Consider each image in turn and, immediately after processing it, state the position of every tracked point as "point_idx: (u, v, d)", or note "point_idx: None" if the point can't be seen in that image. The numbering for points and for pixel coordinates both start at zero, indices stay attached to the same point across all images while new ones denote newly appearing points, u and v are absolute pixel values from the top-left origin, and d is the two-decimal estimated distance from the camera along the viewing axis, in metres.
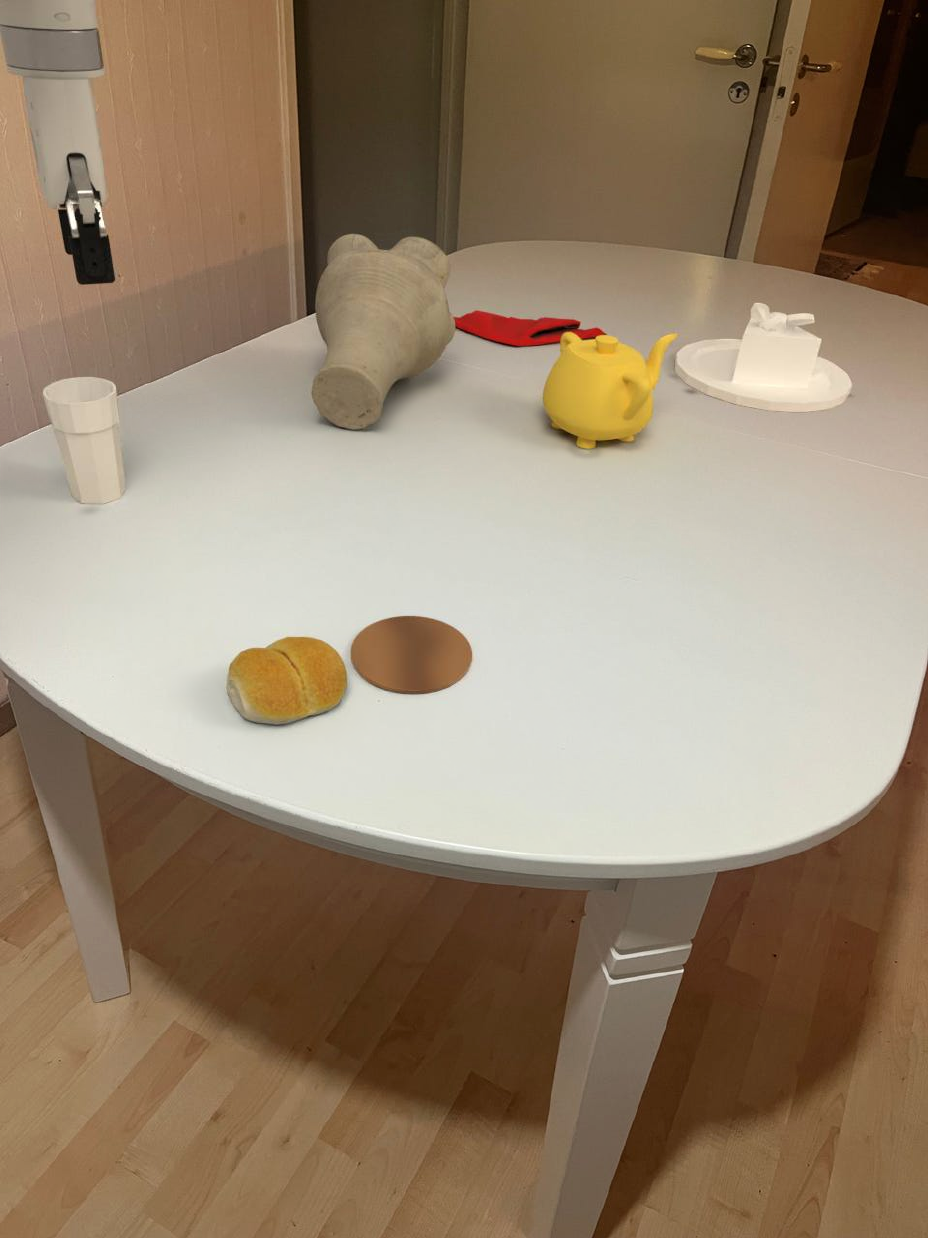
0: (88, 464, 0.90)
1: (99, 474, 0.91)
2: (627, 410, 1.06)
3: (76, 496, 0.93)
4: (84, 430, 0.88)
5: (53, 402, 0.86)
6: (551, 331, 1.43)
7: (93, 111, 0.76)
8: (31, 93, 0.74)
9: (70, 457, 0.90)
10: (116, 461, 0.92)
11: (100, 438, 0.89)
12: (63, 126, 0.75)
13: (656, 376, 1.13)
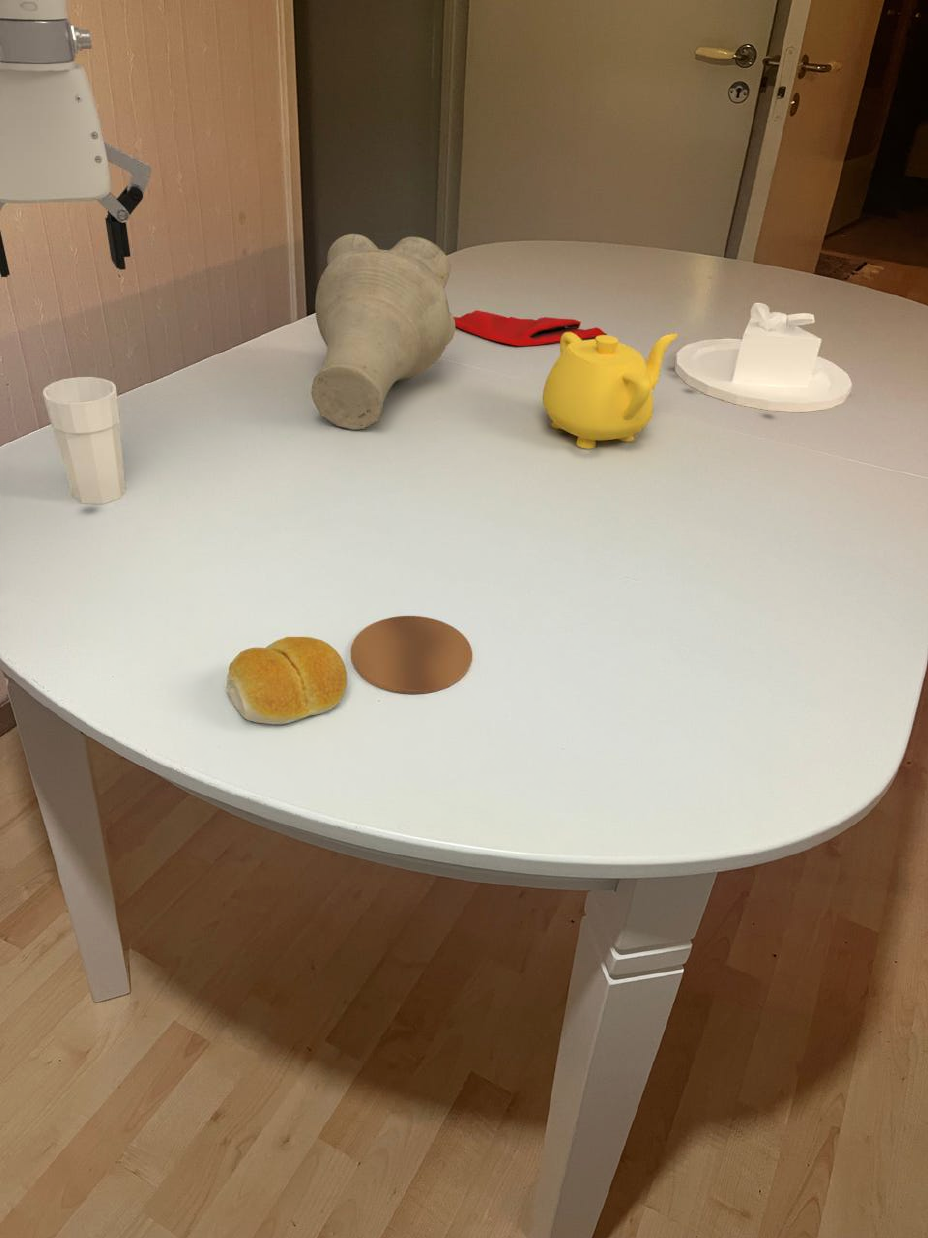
0: (88, 464, 0.90)
1: (99, 474, 0.91)
2: (627, 410, 1.06)
3: (76, 496, 0.93)
4: (84, 430, 0.88)
5: (53, 402, 0.86)
6: (551, 331, 1.43)
7: None
8: None
9: (70, 457, 0.90)
10: (116, 461, 0.92)
11: (100, 438, 0.89)
12: None
13: (656, 376, 1.13)
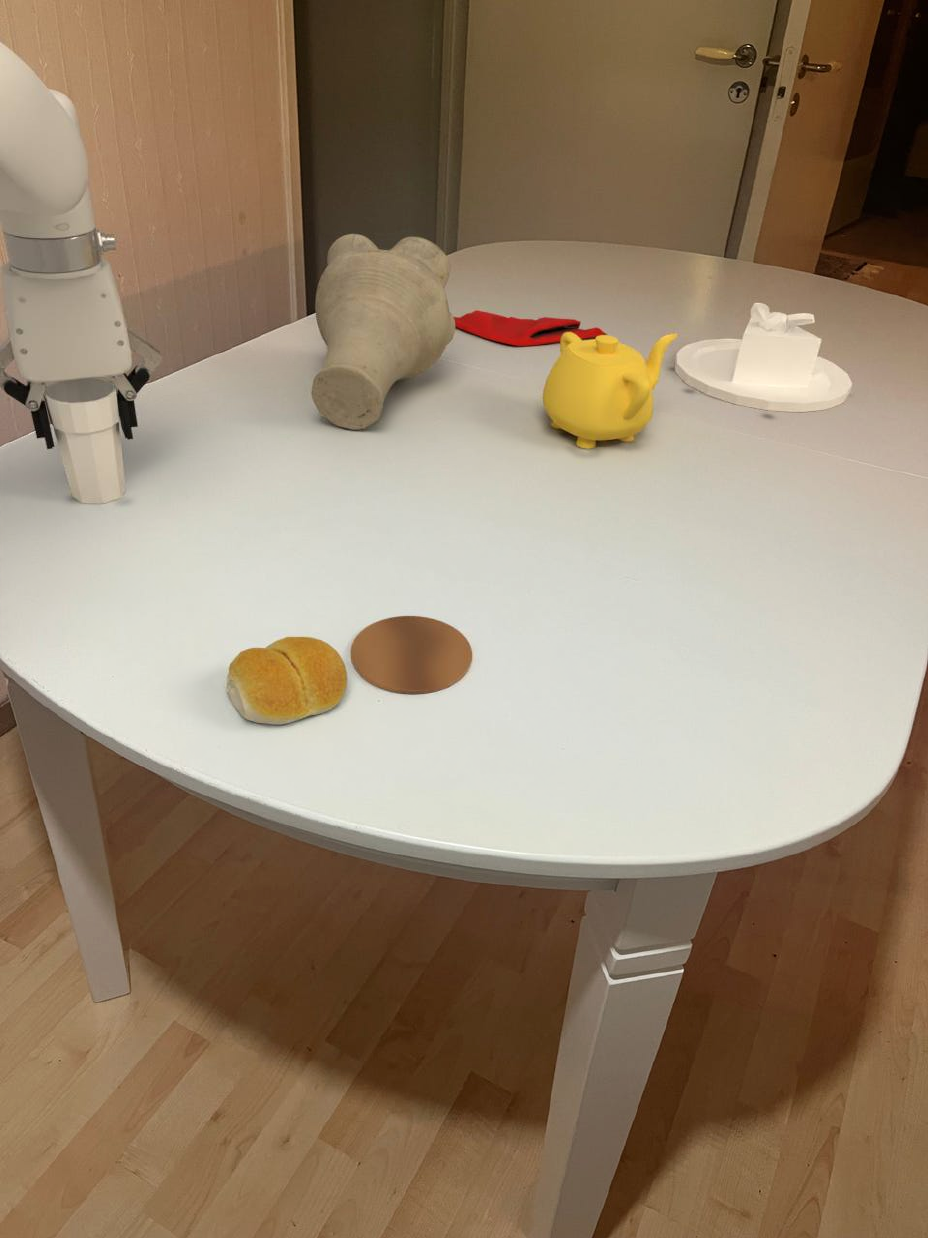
0: (88, 464, 0.90)
1: (99, 474, 0.91)
2: (627, 410, 1.06)
3: (76, 496, 0.93)
4: (84, 430, 0.88)
5: (53, 402, 0.86)
6: (551, 331, 1.43)
7: (13, 303, 0.80)
8: None
9: (70, 457, 0.90)
10: (116, 461, 0.92)
11: (100, 438, 0.89)
12: (4, 306, 0.82)
13: (656, 376, 1.13)
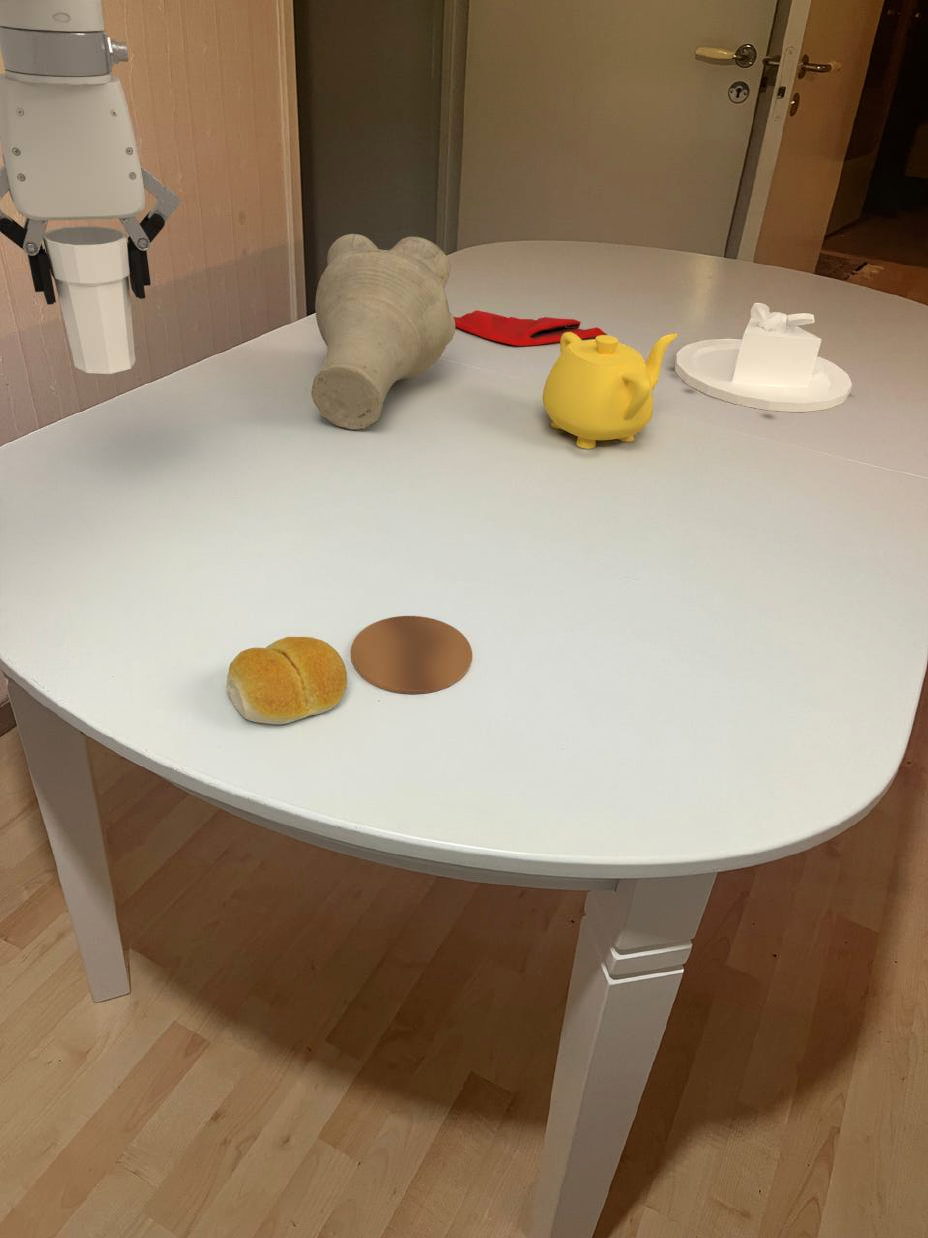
0: (94, 323, 0.79)
1: (107, 336, 0.80)
2: (627, 410, 1.06)
3: (80, 365, 0.82)
4: (90, 280, 0.76)
5: (54, 244, 0.75)
6: (551, 331, 1.43)
7: (9, 115, 0.69)
8: None
9: (73, 315, 0.78)
10: (126, 323, 0.81)
11: (108, 292, 0.78)
12: None
13: (656, 376, 1.13)
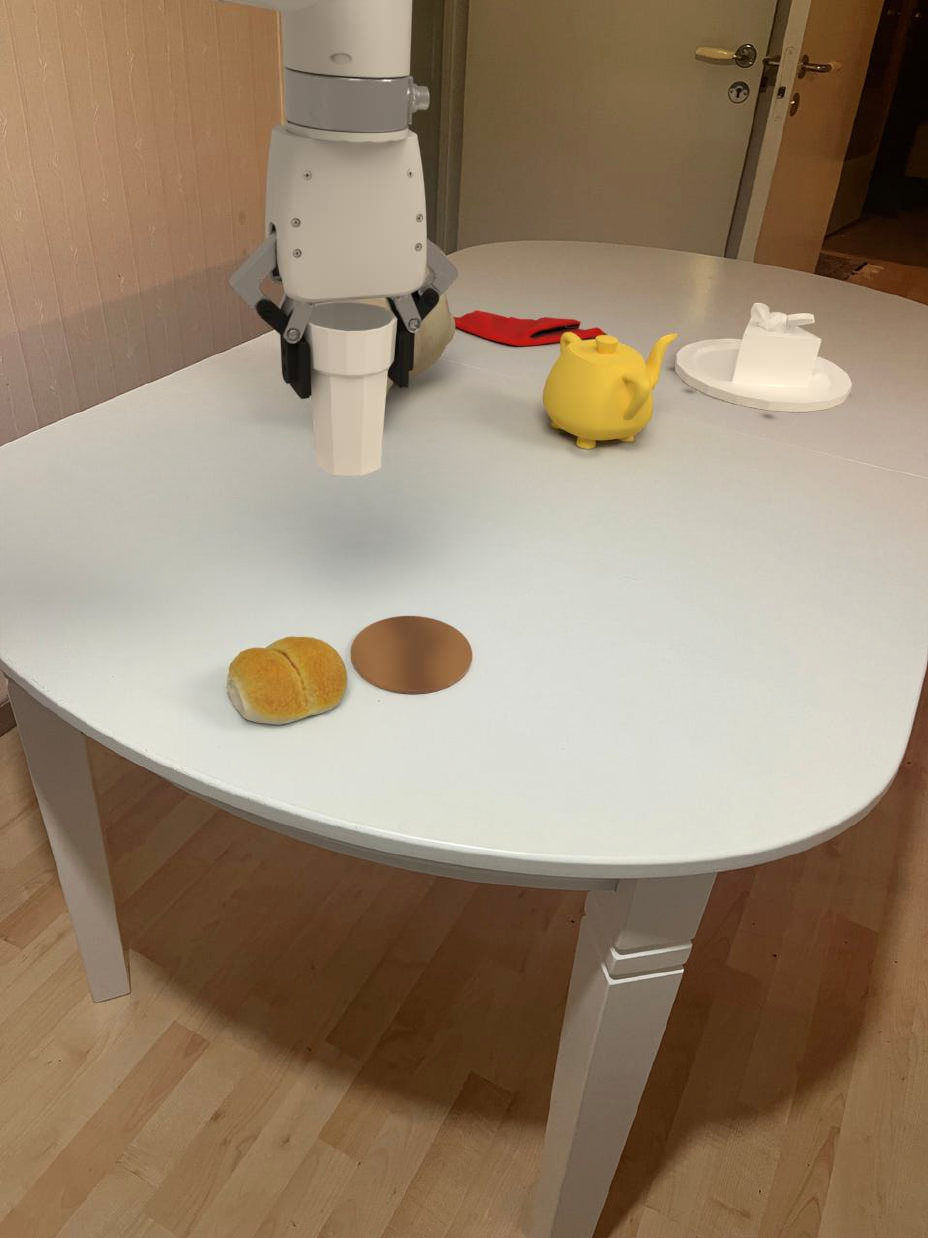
0: (353, 420, 0.66)
1: (364, 434, 0.66)
2: (627, 410, 1.06)
3: (324, 466, 0.68)
4: (358, 371, 0.63)
5: (321, 330, 0.61)
6: (551, 331, 1.43)
7: (294, 179, 0.55)
8: None
9: (329, 410, 0.65)
10: (383, 417, 0.67)
11: (373, 383, 0.65)
12: (270, 188, 0.58)
13: (656, 376, 1.13)
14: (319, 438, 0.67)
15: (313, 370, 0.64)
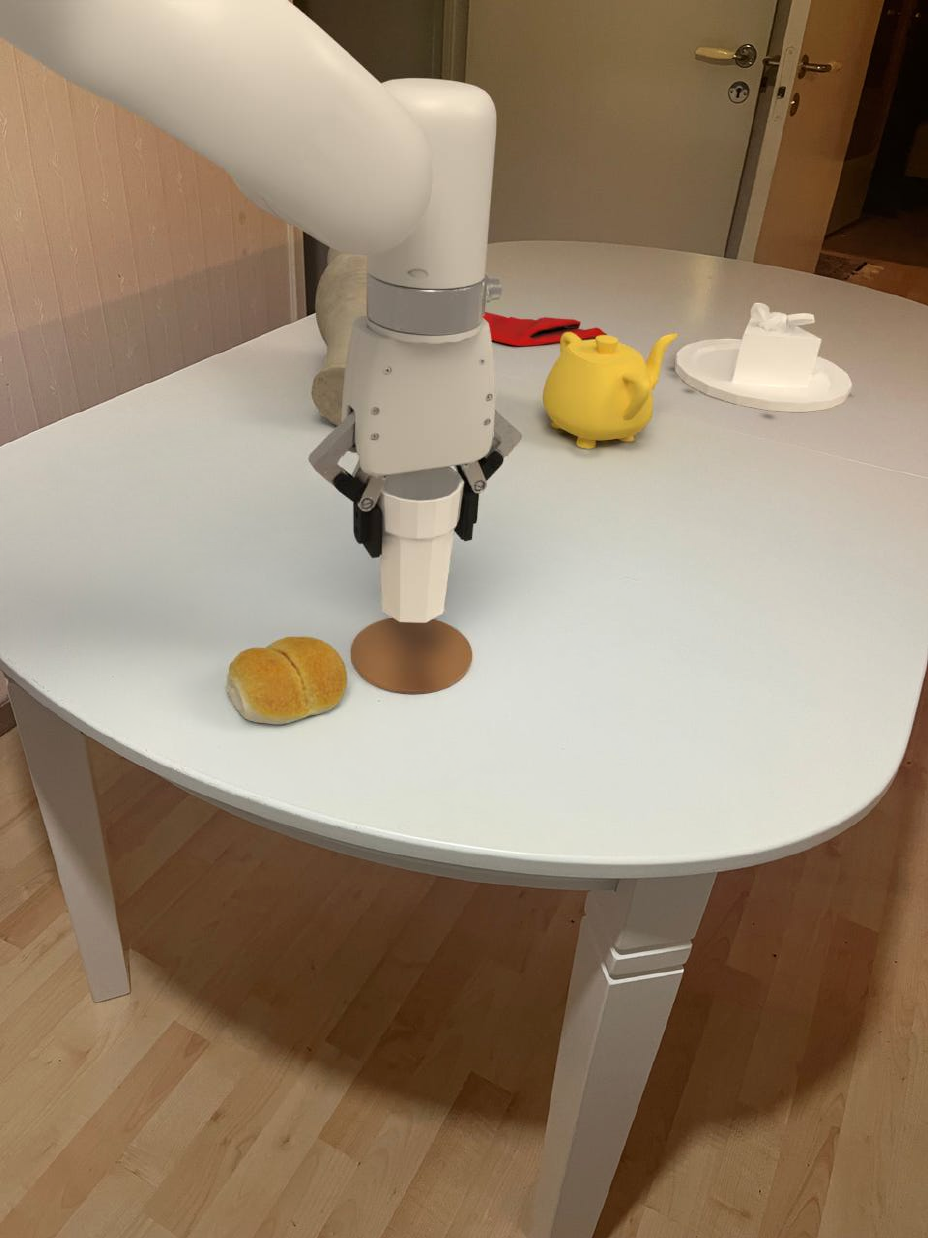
0: (420, 575, 0.69)
1: (430, 586, 0.70)
2: (627, 410, 1.06)
3: (390, 612, 0.72)
4: (427, 534, 0.66)
5: (394, 499, 0.65)
6: (551, 331, 1.43)
7: (375, 374, 0.59)
8: None
9: (398, 567, 0.68)
10: (448, 569, 0.71)
11: (440, 543, 0.68)
12: (349, 376, 0.61)
13: (656, 376, 1.13)
14: (386, 588, 0.71)
15: (383, 530, 0.68)
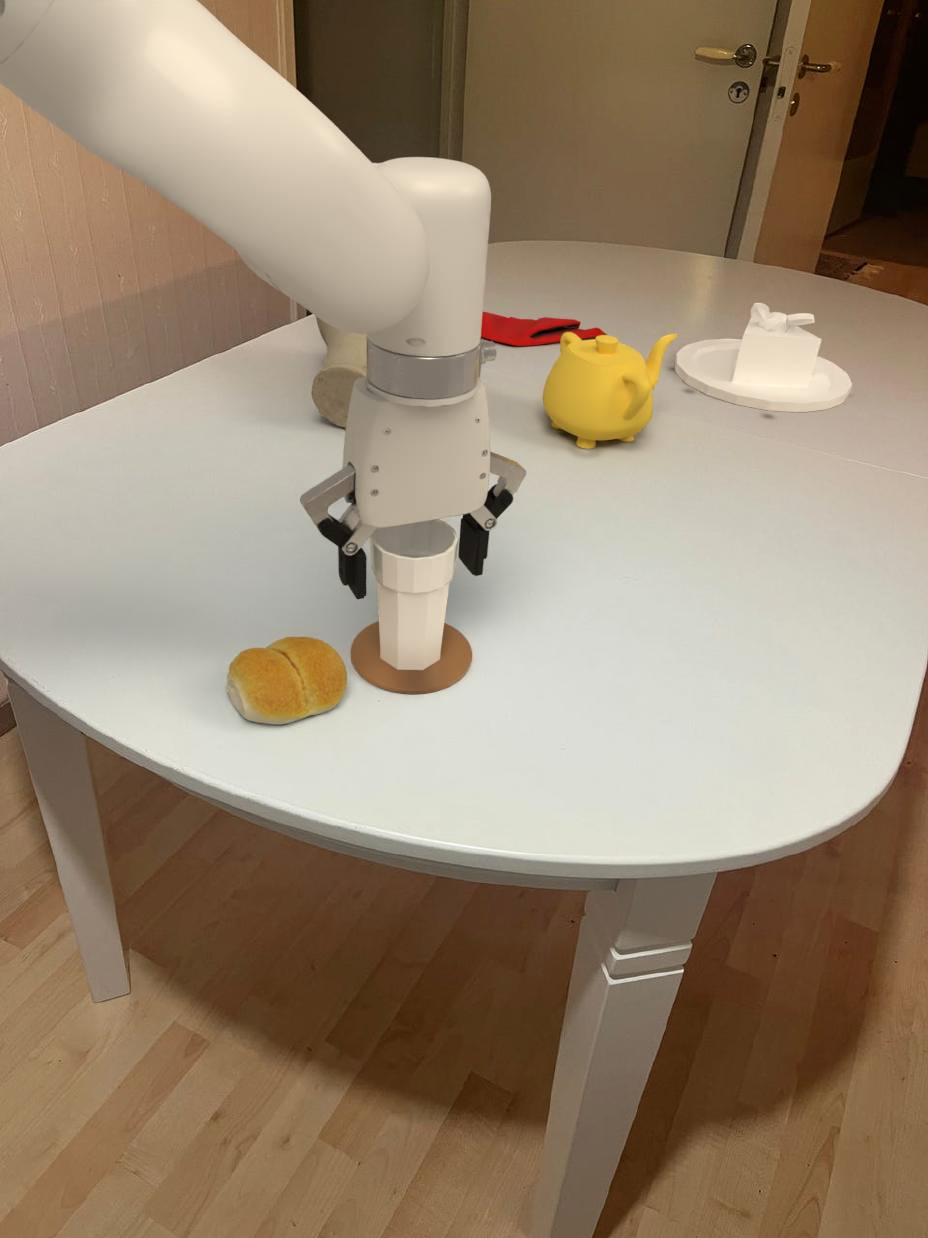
0: (417, 626, 0.71)
1: (427, 637, 0.72)
2: (627, 410, 1.06)
3: (388, 660, 0.74)
4: (424, 589, 0.69)
5: (391, 557, 0.67)
6: (551, 331, 1.43)
7: (374, 435, 0.61)
8: None
9: (396, 618, 0.71)
10: (444, 619, 0.73)
11: (436, 596, 0.70)
12: (350, 435, 0.63)
13: (656, 376, 1.13)
14: (384, 638, 0.73)
15: (381, 584, 0.70)
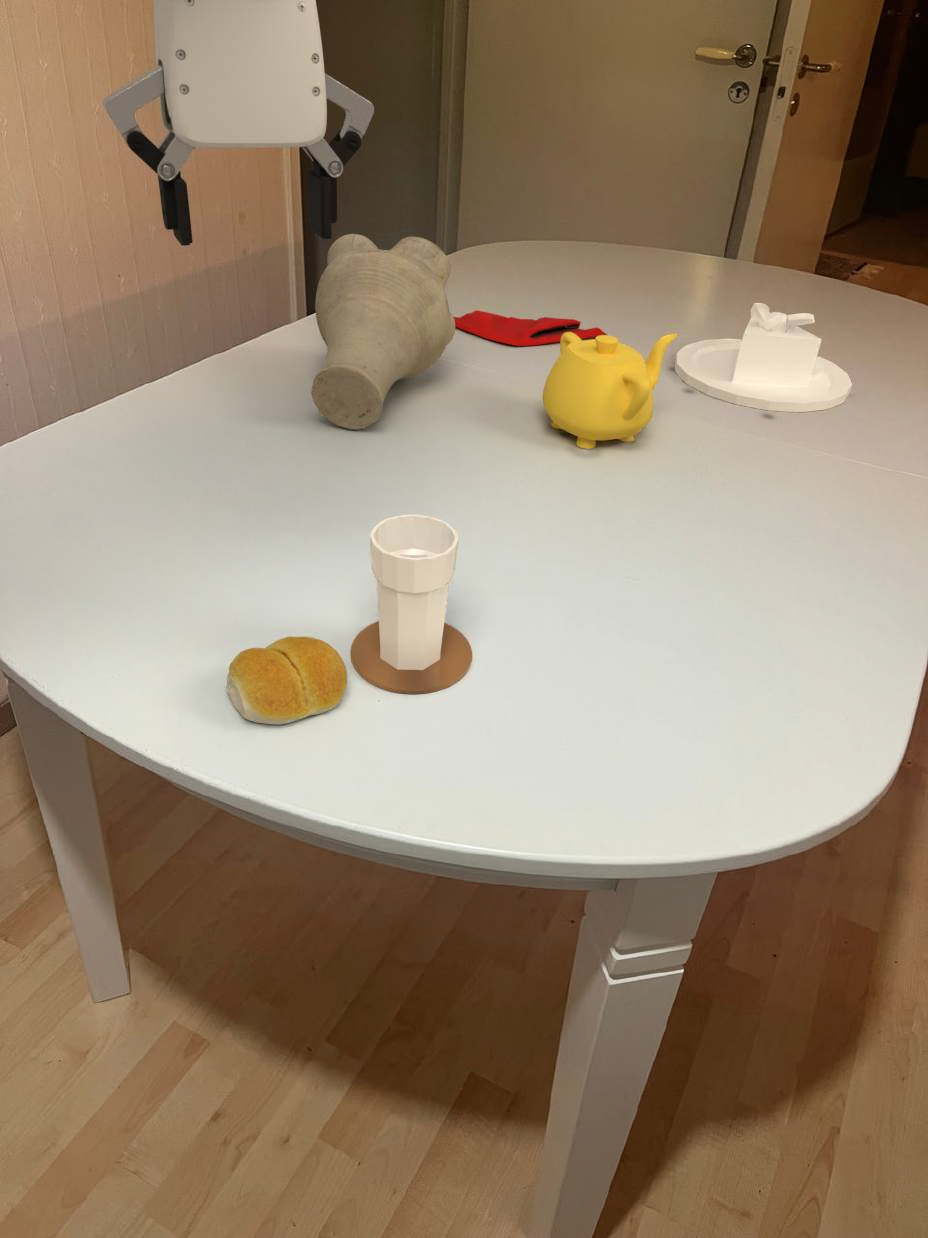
0: (417, 626, 0.71)
1: (427, 637, 0.72)
2: (627, 410, 1.06)
3: (388, 660, 0.74)
4: (424, 589, 0.69)
5: (391, 557, 0.67)
6: (551, 331, 1.43)
7: (175, 5, 0.54)
8: None
9: (396, 618, 0.71)
10: (444, 619, 0.73)
11: (436, 596, 0.70)
12: (155, 21, 0.56)
13: (656, 376, 1.13)
14: (384, 638, 0.73)
15: (381, 584, 0.70)
